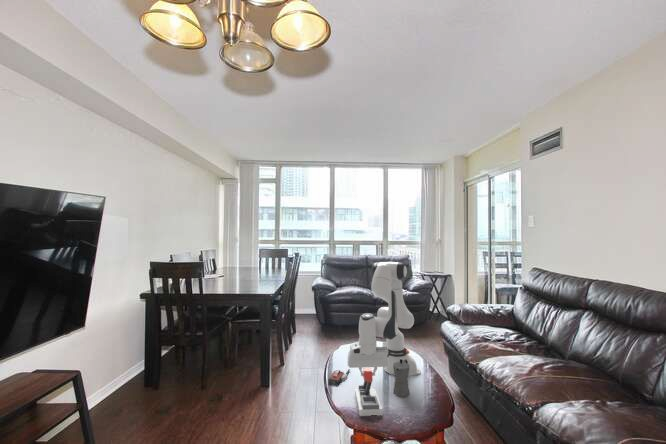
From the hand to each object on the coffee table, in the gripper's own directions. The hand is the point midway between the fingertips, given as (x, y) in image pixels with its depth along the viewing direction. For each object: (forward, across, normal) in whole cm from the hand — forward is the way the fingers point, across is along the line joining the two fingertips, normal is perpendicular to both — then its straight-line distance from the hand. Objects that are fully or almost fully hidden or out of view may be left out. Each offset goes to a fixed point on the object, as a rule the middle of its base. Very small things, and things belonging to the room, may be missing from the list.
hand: (367, 375), depth 148 cm
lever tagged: (+14, 0, -6) cm, 15 cm away
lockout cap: (+2, 0, 0) cm, 2 cm away
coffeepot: (+17, -22, -16) cm, 32 cm away
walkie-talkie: (+18, +12, -34) cm, 40 cm away
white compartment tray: (+17, -1, -5) cm, 18 cm away
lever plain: (+14, 0, -12) cm, 19 cm away
